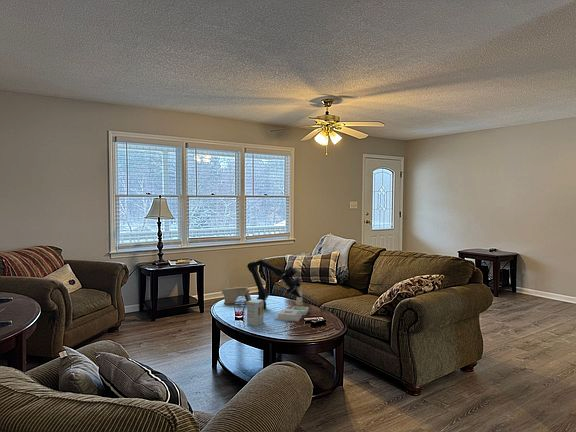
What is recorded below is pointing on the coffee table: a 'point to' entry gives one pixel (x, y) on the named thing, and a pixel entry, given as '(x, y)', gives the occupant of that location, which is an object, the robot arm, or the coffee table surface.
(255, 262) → the robot arm
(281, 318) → the grey block with recess
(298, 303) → the cream rounded cylinder
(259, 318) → the supplement box
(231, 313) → the coffee table surface
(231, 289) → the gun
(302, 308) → the parts tray
